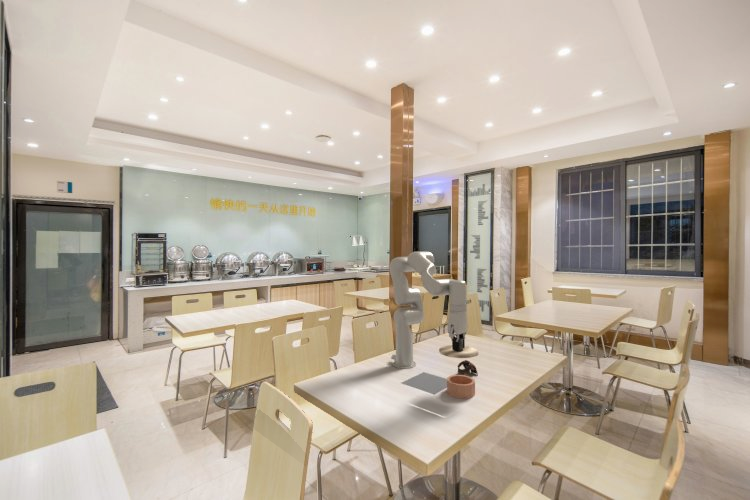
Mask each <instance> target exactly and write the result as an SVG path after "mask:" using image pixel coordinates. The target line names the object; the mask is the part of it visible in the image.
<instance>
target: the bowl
mask: <svg viewBox="0 0 750 500" xmlns="http://www.w3.org/2000/svg"><path fill="white" fill-rule="evenodd" d="M446 379H447V388H446V393H447V394H448V395H449V396H451V397H454V398H457V399H471V398H473V397H475V395H476V381H475V379H474V377H473V378H472V377H471V376H468V375H466V374H464V375H461V374H454V375H453V374H451V375H450V376H447V377H446Z"/></svg>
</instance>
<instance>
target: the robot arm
mask: <svg viewBox="0 0 750 500" xmlns="http://www.w3.org/2000/svg"><path fill="white" fill-rule="evenodd" d="M388 269H389V273H390V276H391V279H392V288H393V297H394V302H395V304H396V305H397V306H399V307H400V306H401V307H402V306H410V307H402V308H398V309H396V310H395V311H394V313H393V321H394V327H395V330H394V331H395V354H391V357H390V358H391V360H394V361H393V363H392V365H393V367H394V368H396V369H405V370H408V369H413V368H415V367H416V366H417V363H416V361H415V360H414V334H413V330H412V329H411V327H410V326H412V325H419V324H421V323H422V322H423V321H424V318H425V312H424V311H425V310H424V304H423V296H422V293H421V291H420V289H418V288H417V287H409V281H408V278H407V276H406V275H405V274H404V273H411V272H413V273H414V272H417V273H418V274H419V276H420V280H421V285H422V286H423V288H424V289H425V290H426V291H427V292H428V293H429V294H431V295H432V296H435V297H439V296H449V297H448V300H449V301H448V303H449V304H448V306H449V307H448V317H447V334H448V337H449V338H450V339H451V345H452V349H453V350H456V351H459V342H458V339H459V338H462V339H463V349H464V348H465V346H466V345H465V344H466V343H465V339H466V335H467V332H468V316H467V310H468V309H467V308H468V307H467V305H468V304H467V303H468V302H467V282H466V281H465V280H461V279H460V280H459V279H453V278H441V279H440V278H439V279H436V278H434V277H433V276H434V274H436V273H435V272H436V271H437V269H436V265H435V256H434V255H433V253H432V252H430V251H426V250H425V251H424V250H423V251H412V252H411V253H409V254H408V256H397V257H394V258H393V259H392V260H390V263H389V267H388Z"/></svg>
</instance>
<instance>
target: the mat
mask: <svg viewBox="0 0 750 500" xmlns="http://www.w3.org/2000/svg"><path fill="white" fill-rule="evenodd" d="M401 384H402V385H405V386H409V387H410V388H411V387H412V388H414V389H418V390H420V391H424V392H426V393H429V394H433V395H437V394H438V393H440V392H441V391H443V390H445V389H447V377H446V378H445V377H442V376H439V375H435V374H431V373H428V372H425V371H423V372H421V373H418V374H416V375H414V376H413V377H411V378H408V379H406V380H404V381H402V382H401Z"/></svg>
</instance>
